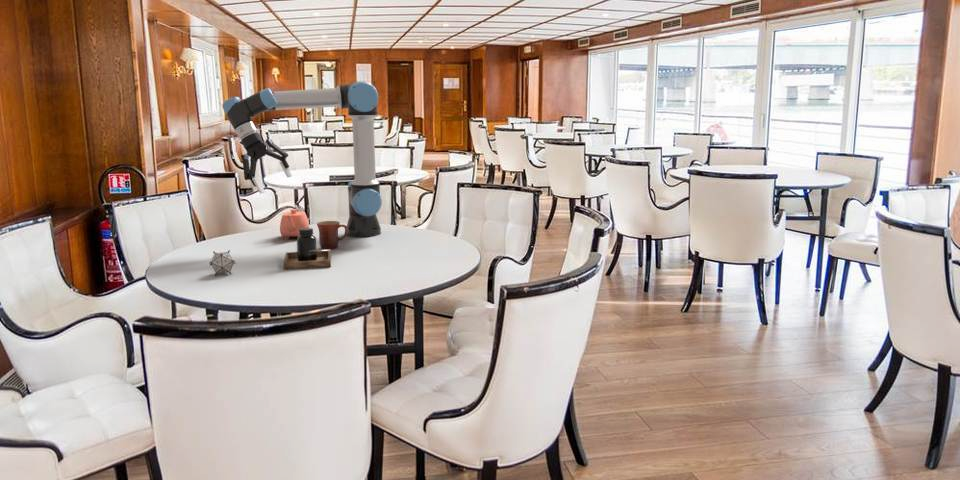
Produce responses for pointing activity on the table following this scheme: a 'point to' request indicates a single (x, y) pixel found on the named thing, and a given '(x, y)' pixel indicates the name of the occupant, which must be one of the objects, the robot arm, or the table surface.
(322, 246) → the mug
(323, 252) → the tray
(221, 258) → the game die
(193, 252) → the table surface
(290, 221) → the teapot
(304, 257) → the supplement bottle
